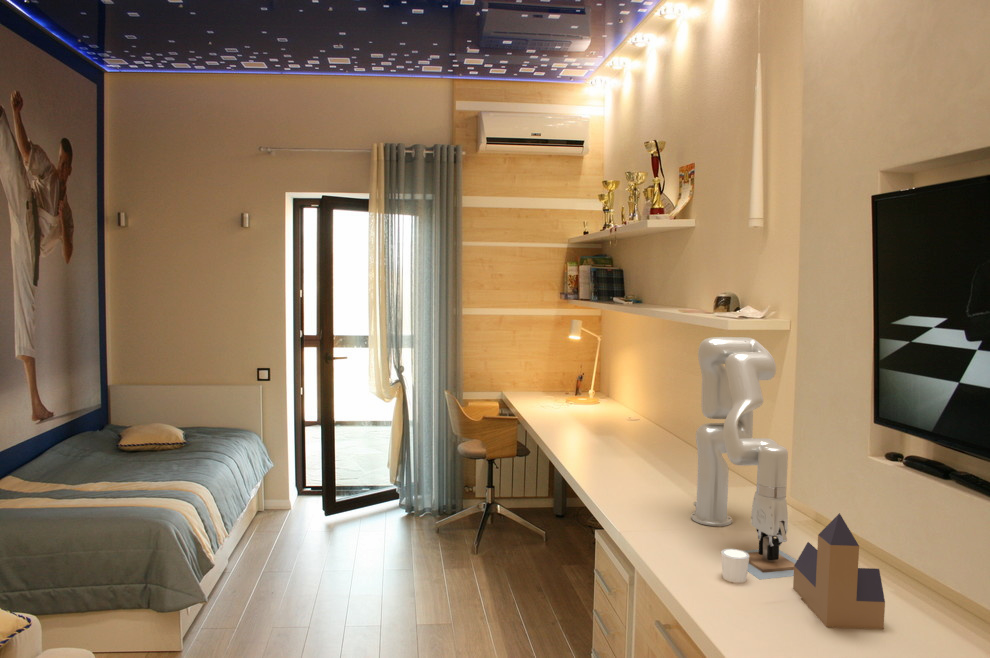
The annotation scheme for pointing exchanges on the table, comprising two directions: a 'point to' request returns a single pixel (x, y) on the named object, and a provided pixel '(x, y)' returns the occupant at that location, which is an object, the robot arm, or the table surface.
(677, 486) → the table surface
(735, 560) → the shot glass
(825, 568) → the toy building blocks
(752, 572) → the mat
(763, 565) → the lid
